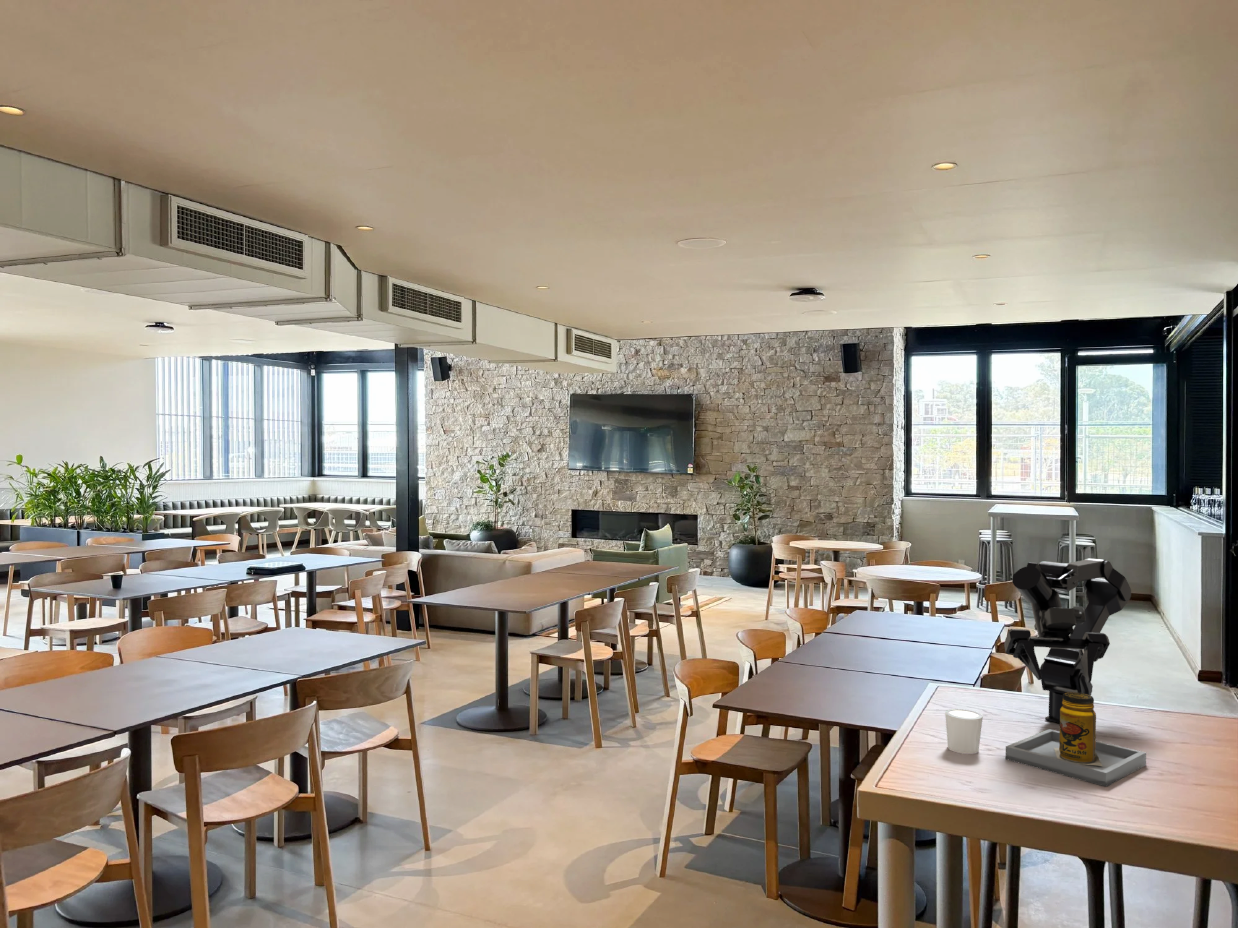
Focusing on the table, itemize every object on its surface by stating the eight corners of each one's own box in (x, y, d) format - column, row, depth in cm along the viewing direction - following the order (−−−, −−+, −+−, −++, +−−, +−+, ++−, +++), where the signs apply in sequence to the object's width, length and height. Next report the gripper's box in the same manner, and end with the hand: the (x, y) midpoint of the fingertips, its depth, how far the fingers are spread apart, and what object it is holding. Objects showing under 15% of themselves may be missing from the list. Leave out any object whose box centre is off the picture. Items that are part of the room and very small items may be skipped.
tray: (1005, 758, 171) (1005, 746, 171) (1048, 740, 183) (1049, 728, 183) (1105, 786, 157) (1106, 772, 157) (1145, 765, 169) (1146, 752, 169)
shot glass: (964, 756, 172) (965, 720, 172) (936, 746, 178) (937, 710, 178) (989, 751, 175) (990, 715, 175) (961, 741, 181) (962, 706, 181)
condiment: (1058, 761, 168) (1059, 697, 167) (1053, 748, 176) (1055, 686, 175) (1102, 767, 165) (1104, 701, 165) (1095, 753, 173) (1097, 690, 173)
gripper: (1009, 589, 184) (1023, 655, 174) (1107, 593, 181) (1127, 660, 171) (998, 620, 192) (1011, 685, 181) (1092, 625, 189) (1111, 691, 178)
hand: (1064, 680), depth 178 cm, fingers open, 9 cm apart
